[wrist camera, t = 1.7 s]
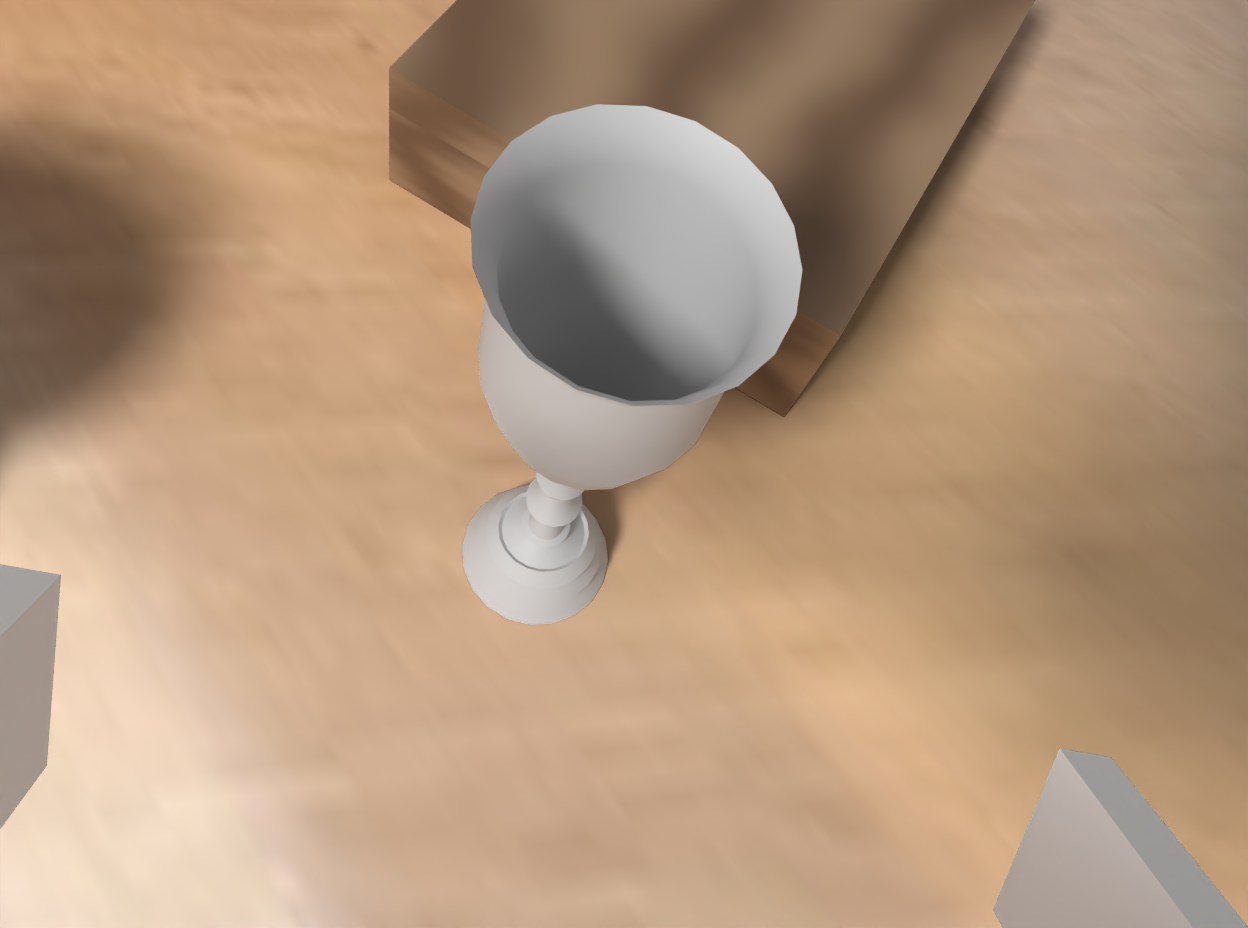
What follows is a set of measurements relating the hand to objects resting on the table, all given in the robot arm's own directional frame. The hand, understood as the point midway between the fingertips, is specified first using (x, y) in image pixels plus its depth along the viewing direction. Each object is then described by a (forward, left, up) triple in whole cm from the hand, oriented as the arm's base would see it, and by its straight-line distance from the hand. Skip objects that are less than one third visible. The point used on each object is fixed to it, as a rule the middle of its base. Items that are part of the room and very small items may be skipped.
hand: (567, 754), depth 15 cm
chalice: (+4, -10, -22) cm, 24 cm away
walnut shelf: (+8, -31, -21) cm, 39 cm away
